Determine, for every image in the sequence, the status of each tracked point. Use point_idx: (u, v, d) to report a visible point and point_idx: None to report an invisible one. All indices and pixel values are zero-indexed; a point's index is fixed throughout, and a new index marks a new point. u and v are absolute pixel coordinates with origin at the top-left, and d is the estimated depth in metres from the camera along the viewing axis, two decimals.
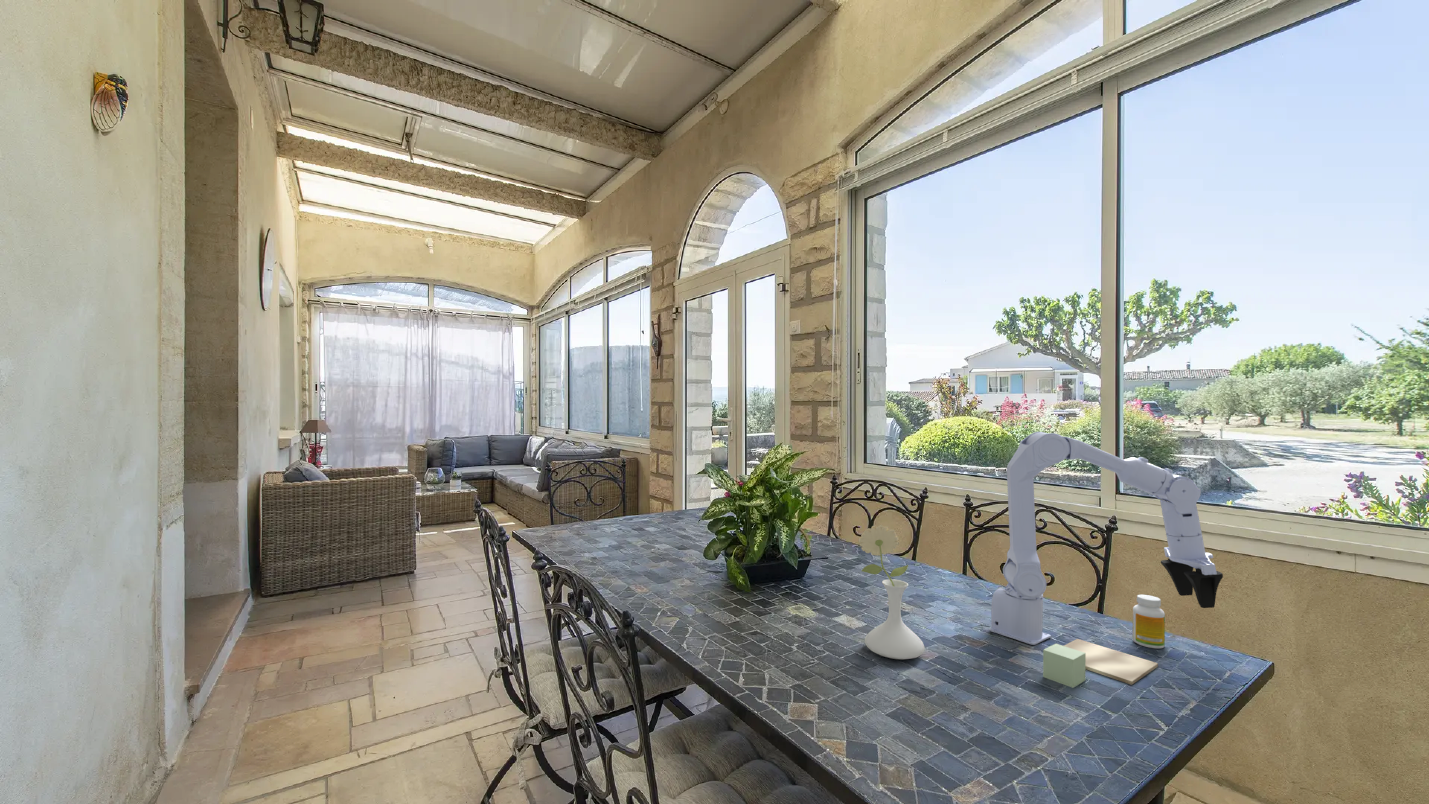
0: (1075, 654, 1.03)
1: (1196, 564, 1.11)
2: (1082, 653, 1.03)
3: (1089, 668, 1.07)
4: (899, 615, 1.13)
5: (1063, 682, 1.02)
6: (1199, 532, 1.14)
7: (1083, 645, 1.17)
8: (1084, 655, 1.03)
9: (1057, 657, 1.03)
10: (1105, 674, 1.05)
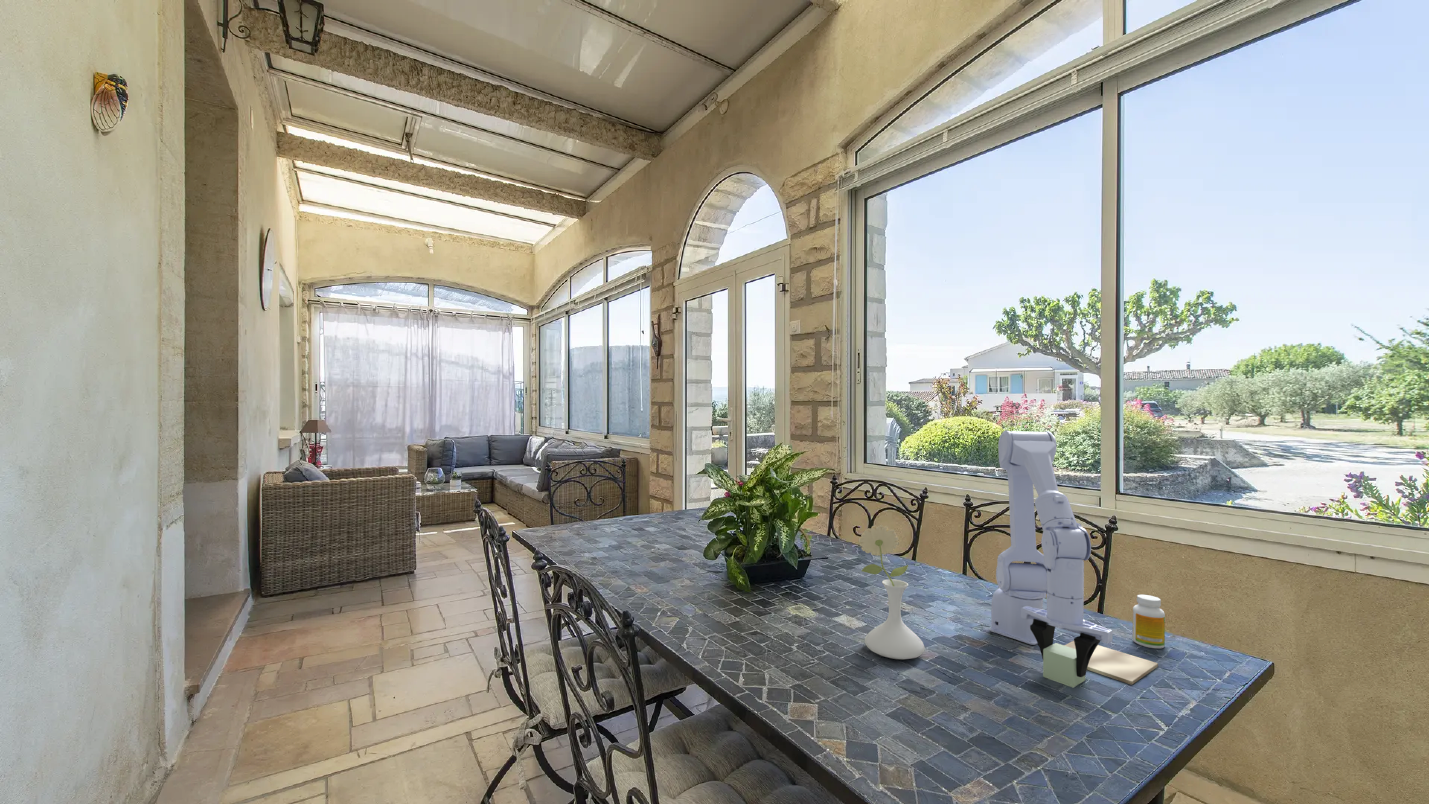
0: (1075, 653, 1.03)
1: None
2: None
3: (1089, 668, 1.07)
4: (899, 615, 1.13)
5: (1063, 681, 1.02)
6: (1055, 593, 1.03)
7: None
8: None
9: (1057, 657, 1.03)
10: (1105, 674, 1.05)
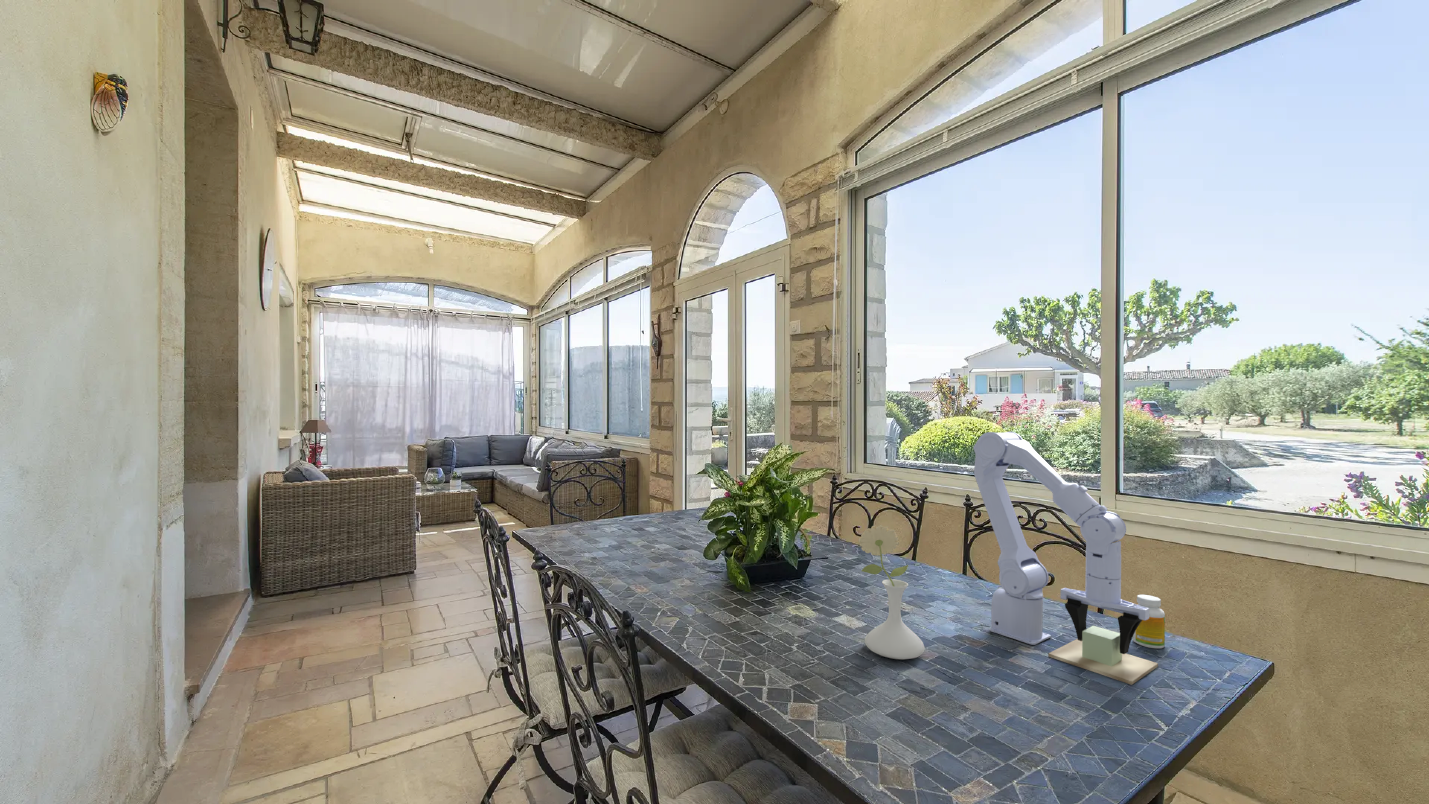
0: (1113, 635, 1.10)
1: None
2: (1119, 634, 1.11)
3: (1089, 668, 1.07)
4: (899, 615, 1.13)
5: (1102, 661, 1.09)
6: (1108, 576, 1.09)
7: None
8: None
9: (1095, 638, 1.10)
10: (1105, 674, 1.05)
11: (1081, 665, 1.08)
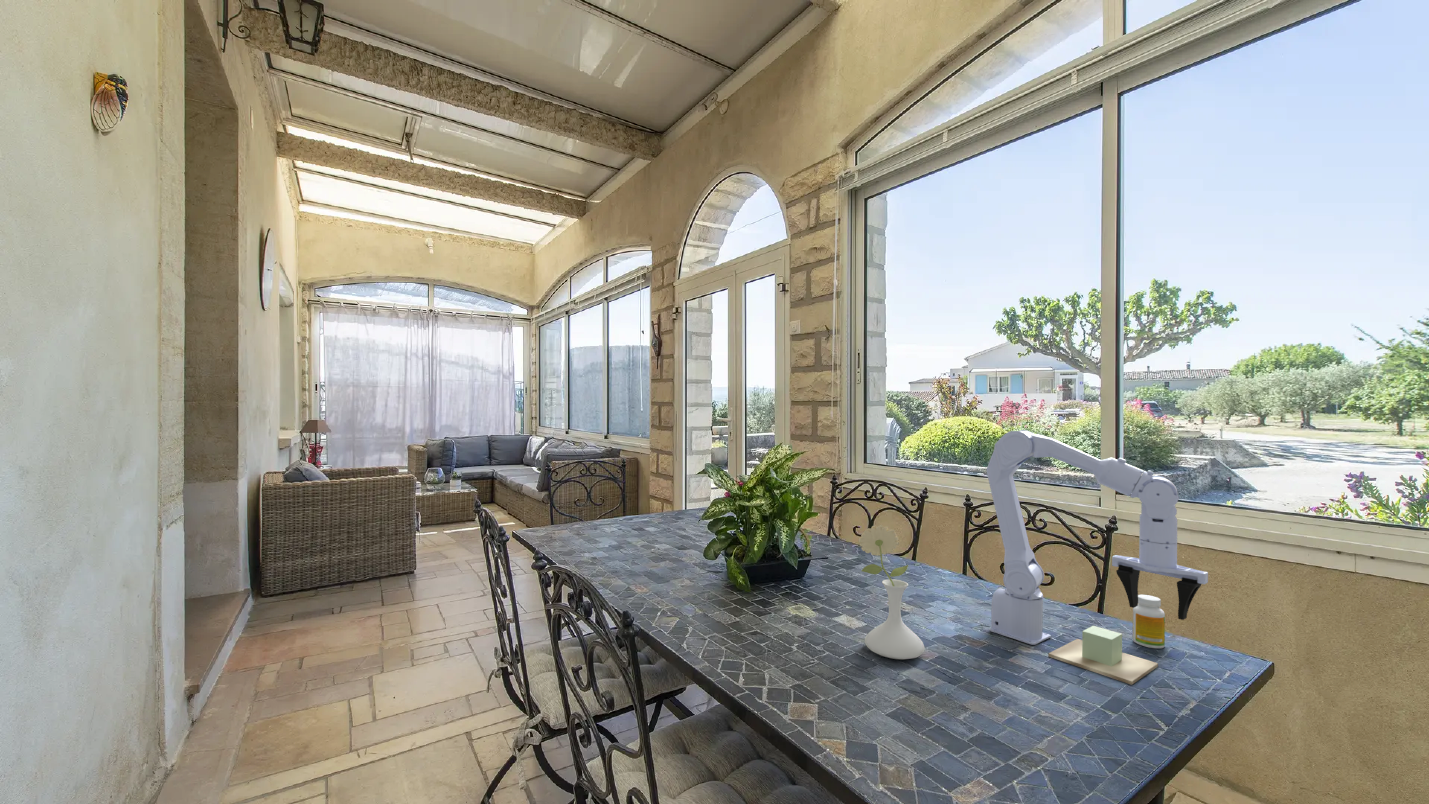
0: (1113, 635, 1.10)
1: None
2: (1119, 634, 1.11)
3: (1089, 668, 1.07)
4: (899, 615, 1.13)
5: (1102, 661, 1.09)
6: (1169, 541, 1.07)
7: None
8: (1121, 636, 1.11)
9: (1095, 638, 1.10)
10: (1105, 674, 1.05)
11: (1081, 665, 1.08)
